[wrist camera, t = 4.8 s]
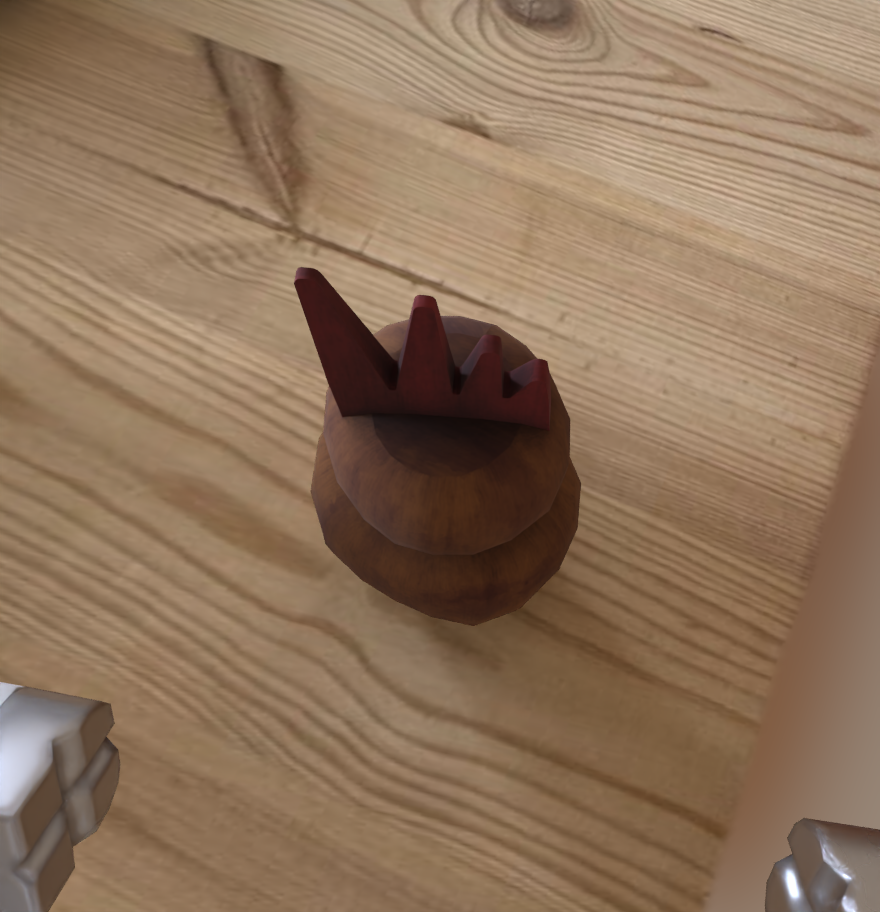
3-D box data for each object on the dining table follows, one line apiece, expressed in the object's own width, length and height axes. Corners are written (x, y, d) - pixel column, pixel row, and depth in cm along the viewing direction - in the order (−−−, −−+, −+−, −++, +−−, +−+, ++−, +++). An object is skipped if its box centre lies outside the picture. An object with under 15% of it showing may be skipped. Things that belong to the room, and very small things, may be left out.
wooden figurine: (308, 565, 23) (97, 360, 9) (394, 415, 25) (331, 38, 11) (500, 666, 22) (605, 615, 8) (576, 503, 24) (778, 218, 10)
